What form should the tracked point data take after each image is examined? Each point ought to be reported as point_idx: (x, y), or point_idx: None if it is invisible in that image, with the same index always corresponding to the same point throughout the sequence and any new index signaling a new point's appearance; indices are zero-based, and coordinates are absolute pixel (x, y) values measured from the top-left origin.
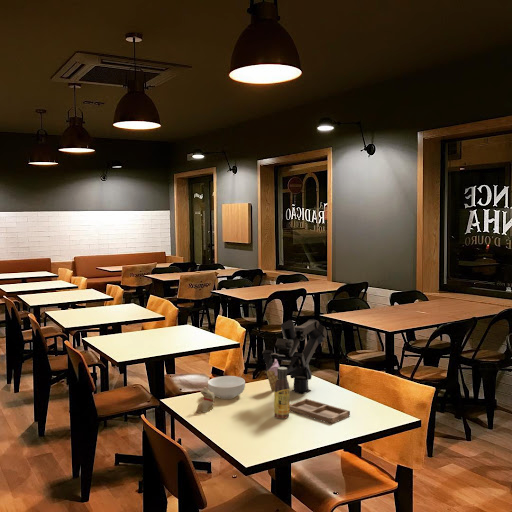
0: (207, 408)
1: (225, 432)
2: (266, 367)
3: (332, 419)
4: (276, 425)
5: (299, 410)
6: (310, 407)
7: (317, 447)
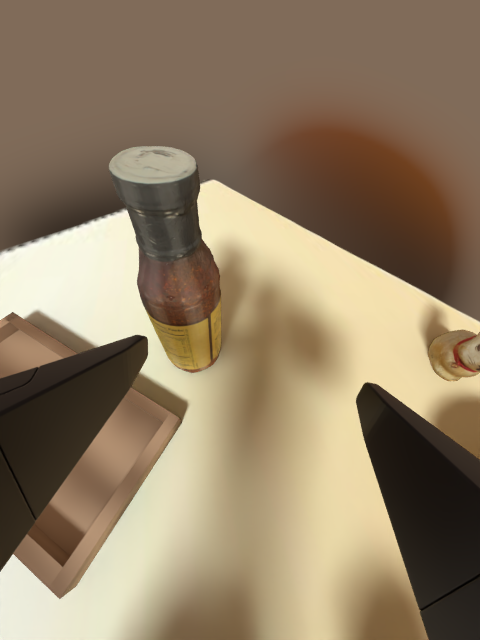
0: (436, 342)
1: (297, 250)
2: (391, 397)
3: (8, 318)
4: None
5: None
6: None
7: (101, 218)
